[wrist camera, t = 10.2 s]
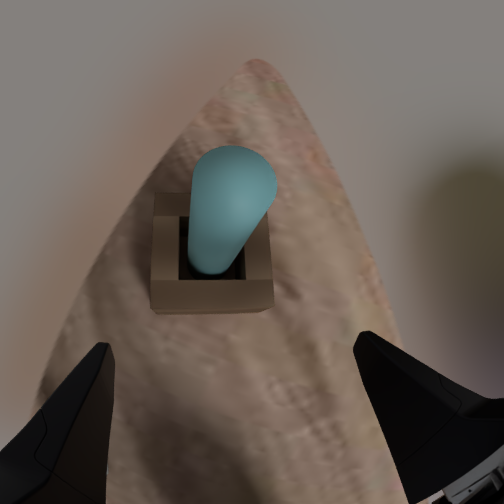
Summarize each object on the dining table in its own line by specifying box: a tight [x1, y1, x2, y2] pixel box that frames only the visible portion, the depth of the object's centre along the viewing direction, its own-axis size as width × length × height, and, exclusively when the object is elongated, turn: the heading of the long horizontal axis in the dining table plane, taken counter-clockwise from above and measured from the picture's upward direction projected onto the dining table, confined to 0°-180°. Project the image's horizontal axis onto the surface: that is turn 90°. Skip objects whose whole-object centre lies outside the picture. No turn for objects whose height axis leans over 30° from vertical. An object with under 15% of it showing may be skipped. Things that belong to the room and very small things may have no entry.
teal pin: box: [187, 146, 277, 280], centre depth 17 cm, size 3×3×13 cm
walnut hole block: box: [150, 193, 275, 315], centre depth 21 cm, size 8×8×4 cm
